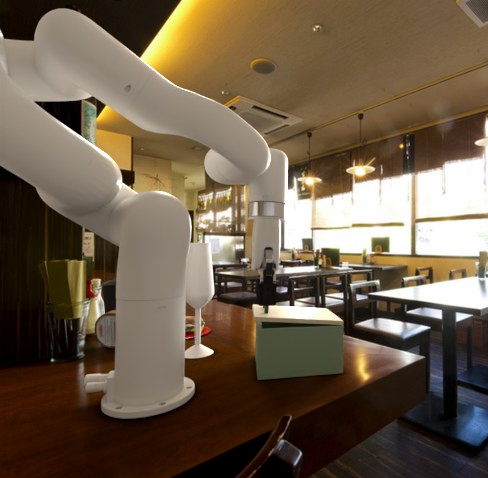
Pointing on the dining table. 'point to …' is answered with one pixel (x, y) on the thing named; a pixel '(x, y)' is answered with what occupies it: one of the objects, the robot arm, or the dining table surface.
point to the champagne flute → (199, 291)
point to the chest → (297, 349)
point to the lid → (295, 315)
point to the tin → (106, 329)
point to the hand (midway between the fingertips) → (265, 301)
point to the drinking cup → (109, 295)
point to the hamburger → (191, 327)
